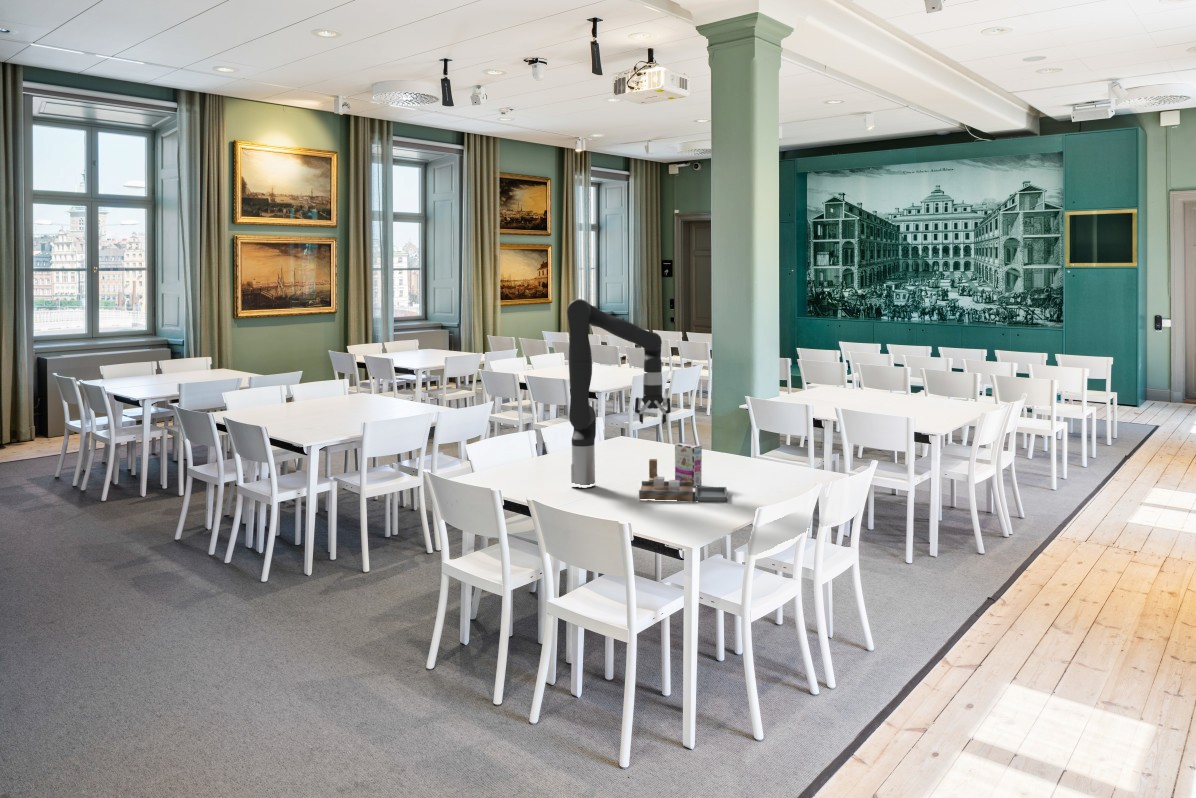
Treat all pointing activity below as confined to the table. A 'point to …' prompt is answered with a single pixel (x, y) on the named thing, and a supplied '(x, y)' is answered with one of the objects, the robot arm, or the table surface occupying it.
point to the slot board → (666, 491)
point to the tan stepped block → (652, 469)
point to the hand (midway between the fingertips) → (652, 423)
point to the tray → (711, 494)
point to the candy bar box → (688, 463)
